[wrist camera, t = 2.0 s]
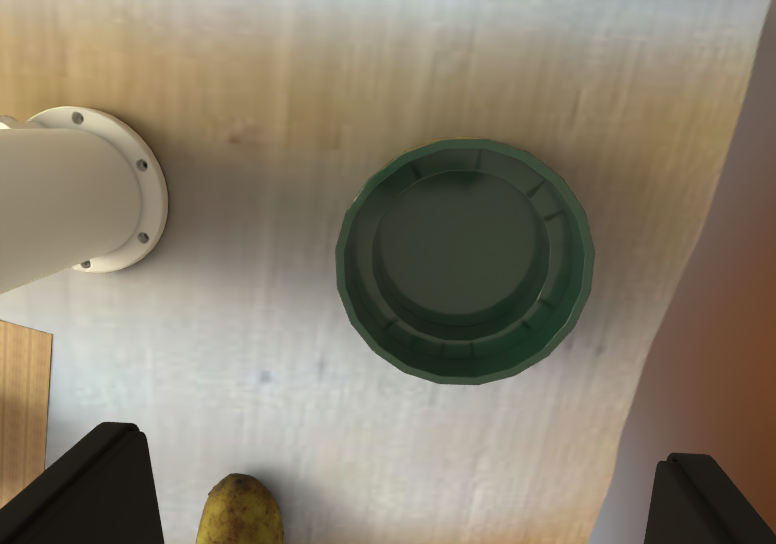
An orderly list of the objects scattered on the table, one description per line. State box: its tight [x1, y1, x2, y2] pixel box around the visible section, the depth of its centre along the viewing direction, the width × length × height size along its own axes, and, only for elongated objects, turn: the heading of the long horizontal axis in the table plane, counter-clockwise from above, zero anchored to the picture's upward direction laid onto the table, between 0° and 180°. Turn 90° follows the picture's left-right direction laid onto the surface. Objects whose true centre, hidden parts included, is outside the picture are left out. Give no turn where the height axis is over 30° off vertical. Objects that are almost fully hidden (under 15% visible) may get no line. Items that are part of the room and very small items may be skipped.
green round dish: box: [335, 137, 595, 385], centre depth 35 cm, size 16×16×6 cm
